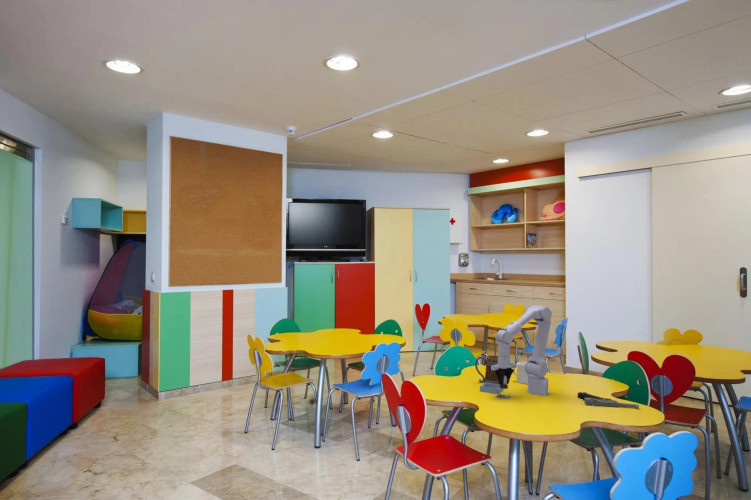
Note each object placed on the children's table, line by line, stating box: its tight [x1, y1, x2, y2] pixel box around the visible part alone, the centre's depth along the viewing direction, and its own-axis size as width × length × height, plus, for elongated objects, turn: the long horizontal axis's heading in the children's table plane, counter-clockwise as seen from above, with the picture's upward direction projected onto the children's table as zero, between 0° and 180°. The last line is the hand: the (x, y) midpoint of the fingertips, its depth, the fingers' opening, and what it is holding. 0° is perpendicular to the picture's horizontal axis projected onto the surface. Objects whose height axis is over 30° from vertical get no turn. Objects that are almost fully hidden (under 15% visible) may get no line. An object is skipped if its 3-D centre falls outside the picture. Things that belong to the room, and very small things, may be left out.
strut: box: [500, 375, 509, 390], centre depth 219 cm, size 4×4×6 cm
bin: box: [479, 382, 505, 395], centre depth 229 cm, size 9×9×4 cm
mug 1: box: [474, 354, 503, 385], centre depth 245 cm, size 16×11×15 cm
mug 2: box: [512, 361, 528, 386], centre depth 252 cm, size 13×10×10 cm
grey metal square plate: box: [495, 393, 512, 400], centre depth 219 cm, size 6×6×1 cm
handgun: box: [577, 391, 640, 409], centre depth 216 cm, size 3×24×15 cm
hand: (503, 384), depth 219 cm, fingers closed on strut, 3 cm apart
